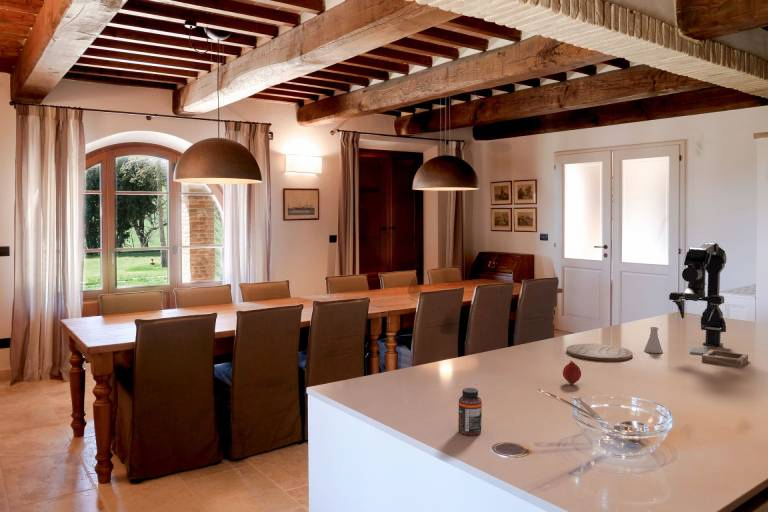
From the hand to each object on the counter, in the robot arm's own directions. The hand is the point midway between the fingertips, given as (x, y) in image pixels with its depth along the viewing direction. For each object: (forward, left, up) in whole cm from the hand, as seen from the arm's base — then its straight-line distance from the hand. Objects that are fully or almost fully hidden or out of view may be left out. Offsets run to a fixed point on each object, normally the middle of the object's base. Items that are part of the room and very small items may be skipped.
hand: (695, 319), depth 246 cm
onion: (+69, -20, -15) cm, 73 cm away
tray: (+1, +11, -15) cm, 18 cm away
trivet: (+21, -30, -15) cm, 39 cm away
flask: (+2, -15, -15) cm, 21 cm away
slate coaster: (-9, +1, -15) cm, 17 cm away
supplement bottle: (+129, -21, -15) cm, 131 cm away
